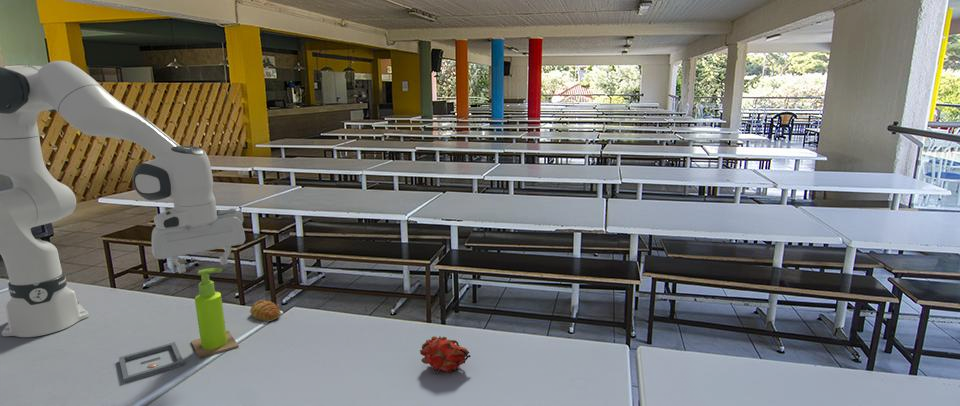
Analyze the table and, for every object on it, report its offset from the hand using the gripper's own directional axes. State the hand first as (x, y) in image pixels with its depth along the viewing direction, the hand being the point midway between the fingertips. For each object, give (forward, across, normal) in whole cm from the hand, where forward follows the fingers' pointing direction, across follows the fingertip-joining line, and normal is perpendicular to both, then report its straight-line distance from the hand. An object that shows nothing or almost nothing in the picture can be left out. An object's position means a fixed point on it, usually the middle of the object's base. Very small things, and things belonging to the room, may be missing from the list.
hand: (203, 267), depth 131 cm
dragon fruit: (+21, -40, +46) cm, 65 cm away
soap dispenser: (+21, -1, +1) cm, 21 cm away
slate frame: (+21, +14, 0) cm, 25 cm away
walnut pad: (+21, 0, 0) cm, 21 cm away
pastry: (+21, -16, -9) cm, 28 cm away
